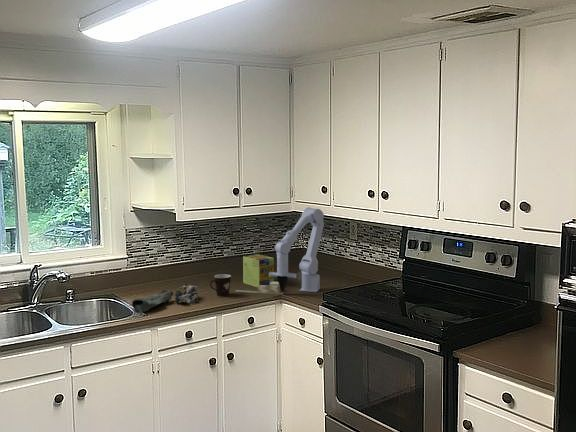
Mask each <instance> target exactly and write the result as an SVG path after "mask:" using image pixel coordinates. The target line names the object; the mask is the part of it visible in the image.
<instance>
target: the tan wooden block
mask: <svg viewBox="0 0 576 432" xmlns="http://www.w3.org/2000/svg"><path fill="white" fill-rule="evenodd" d="M257 291H258V292H267V293H277V294H276V295H279V294H280V293H282V291H281V288H280V285H279V286H267V285H258V287H257Z"/></svg>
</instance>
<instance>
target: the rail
mask: <svg viewBox="0 0 576 432" xmlns="http://www.w3.org/2000/svg"><path fill="white" fill-rule="evenodd" d="M234 292H238V293H250V294H251V293H252V294H253V293H255V294H265V295H266V294H267V295H284V292H281V293H280V294H277V293H267V292H258V290H241V289H235V291H234Z"/></svg>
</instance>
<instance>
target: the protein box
mask: <svg viewBox="0 0 576 432" xmlns="http://www.w3.org/2000/svg"><path fill="white" fill-rule="evenodd" d="M274 258H275V257H273V256H272V257H271V256H267V255H262V254H250V255H243V257H242V263H243V264H242V267H243V268H242V270H243V271H242V274H243V278H242V281H243V282H242V283H243V284H245V285H249V286H252V287H255V288H258V285H267V286H270V283H271V282H275V277H273V276H271V277H269V272H275V259H274Z"/></svg>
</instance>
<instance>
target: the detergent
mask: <svg viewBox="0 0 576 432" xmlns="http://www.w3.org/2000/svg"><path fill="white" fill-rule="evenodd" d="M173 296H174V292H173V291H171V290H168V289H162V290H160V291H159V292H157V293H156V294H151V295H149V296H147V297H146V298H142V297H137V298H134V299H133V300H132V301H131V305H132V308H133V310H134V311H136V312H138V313H139V312H141V313H145V312H147V311H150V309H152V308H153V307H156V306H158V305H160V304H165V303H168V302H170V301H171V299H172V298H173Z"/></svg>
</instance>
